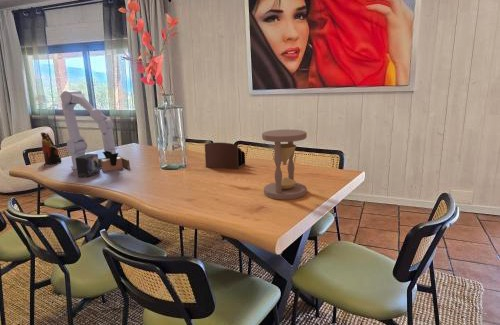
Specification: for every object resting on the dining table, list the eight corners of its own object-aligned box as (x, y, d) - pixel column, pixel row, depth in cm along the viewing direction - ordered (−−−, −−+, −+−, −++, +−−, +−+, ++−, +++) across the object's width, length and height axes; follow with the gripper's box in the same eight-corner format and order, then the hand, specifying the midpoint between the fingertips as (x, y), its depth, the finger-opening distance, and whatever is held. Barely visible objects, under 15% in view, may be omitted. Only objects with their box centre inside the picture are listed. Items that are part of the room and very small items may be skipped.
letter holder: (238, 169, 181) (237, 143, 178) (205, 167, 188) (203, 142, 185) (245, 165, 190) (244, 140, 187) (213, 163, 197) (212, 139, 194)
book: (102, 170, 192) (100, 159, 191) (120, 166, 198) (118, 156, 197) (104, 171, 188) (103, 161, 187) (123, 168, 194) (121, 158, 193)
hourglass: (290, 203, 129) (289, 137, 123) (255, 194, 140) (252, 134, 134) (314, 190, 142) (314, 130, 136) (280, 183, 153) (279, 128, 147)
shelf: (95, 168, 197) (94, 159, 196) (120, 163, 205) (119, 155, 204) (103, 173, 184) (102, 164, 183) (130, 168, 192) (129, 160, 191)
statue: (62, 162, 215) (57, 131, 210) (49, 165, 209) (43, 133, 205) (55, 160, 223) (49, 130, 218) (42, 162, 217) (36, 131, 212)
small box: (88, 177, 177) (85, 158, 175) (77, 177, 179) (74, 157, 176) (101, 172, 187) (98, 153, 185) (90, 172, 189) (87, 153, 186)
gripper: (120, 141, 186) (123, 165, 189) (112, 138, 197) (115, 161, 201) (106, 143, 182) (110, 167, 185) (99, 140, 193) (102, 163, 196)
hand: (111, 164), depth 193 cm, fingers open, 7 cm apart
